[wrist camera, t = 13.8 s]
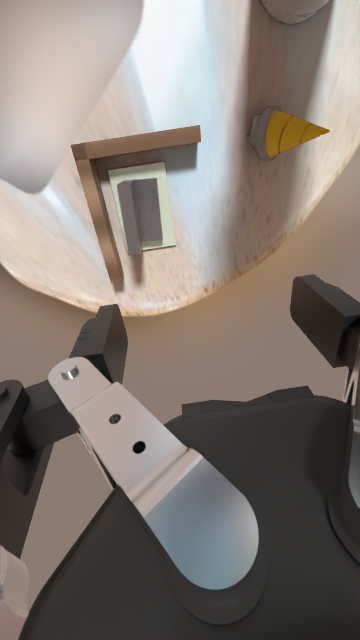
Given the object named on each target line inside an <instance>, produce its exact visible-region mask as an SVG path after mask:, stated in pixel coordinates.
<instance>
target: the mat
mask: <svg viewBox="0 0 360 640" xmlns="http://www.w3.org/2000/svg"><path fill="white" fill-rule="evenodd" d="M108 174H109V178H110V182H111V186H112V190H113V194H114V198H115V203H116V207H117V211H118V215H119V219H120V223H121V227H122V232H123V236H124V240H125V244H126V248H127V242H126V236H125V231H124V225H123V219H122V213H121V208H120V202H119V196H118V190H117V184H119V183H120V182H121V181H123V180H133V179H145V178H157V185H158V195H159V205H160V215H161V225H162V235H163V240H157V241H146V242H142V248H141V250H146V249H153V248H159V247H166V246H172V245H176V242H175V235H174V227H173V220H172V213H171V206H170V199H169V191H168V184H167V177H166V170H165V163H164V162H159V163H153V164H146V165H140V166H133V167H127V168H120V169H114V170H108ZM127 252H128V248H127Z"/></svg>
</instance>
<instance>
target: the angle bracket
mask: <svg viewBox="0 0 360 640" xmlns="http://www.w3.org/2000/svg"><path fill="white" fill-rule="evenodd" d="M117 190H118V196H119V202H120V208H121V213H122V219H123V225H124V231H125V236H126V242H127V248H128V254H129V255H137V254H141V248H142V242H146V241H157V240H163V235H162V225H161V215H160V205H159V195H158V185H157V178H145V179H133V180H123V181H121V182H120V183H119V184H117Z"/></svg>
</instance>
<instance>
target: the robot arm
mask: <svg viewBox="0 0 360 640" xmlns="http://www.w3.org/2000/svg"><path fill="white" fill-rule="evenodd" d="M261 1H262V3H263V5H264V7H265V9H266V10H267V11H268V12H269V14H270V15H271V16H272V17H274V18H275V19H277V20H278V21H280V22H283V23H286V24H296V23H299V22H302V21H305V20H306V19H308V18H310V17H311V16H313V15H314V14H315V13H316V12H317V11H319V10H320V9H321V8H323V7H324V6H325V5H326V4H327V3H328V2H329V1H330V0H261ZM290 312H291V317H292V319H293V321H294V322H295V323H296V324H297V325H298V326H299V327H300V329H301V330H302V331H303V333H304V334H305V335H306V336H307V337H308V339H309V340H310V341H311V342H312V343H313V344H314V346H315V347H316V348H317V349H318V350H319V352H320V353H321V354H322V355H323V356H324V357H325V359H326V360H327V361H328V362H329V363H330V365H331V366H332V367H333V368H336V367H343V366H347V367H348V368H349V369H348V372H347V376H346V382H345V388H344V394H343V400H342V401H339V400H336V399H333V398H329V397H324V396H315V395H313V393H312V392H311V390H310V389H309V387H308V386H302V387H295V388H288V389H282V390H276V391H274V392H271V393H268V394H266V395H264V396H261V397H258V398H256V399H253V400H251V401H248V402H239V401H221V400H209V401H203V402H196V403H190V404H183V405H182V414H183V415H180V416H178V417H176V418H174V419H172V420H170V421H169V422H167V423H166V424H164V425H162V424H161V423H160V422H159V421H158V420H157V419H156V418H155V417H154V416H153V415H152V414H151V413H150V412H149V411H148V410H147V409H146V408H145V407H144V406H143V405H142V404H141V403H140V402H139V401H138V400H137V399H136V398H135V397H134V396H133V395H131V394H130V393H129V392H128V391H127V390H126V389H125V388H124V387H123V386H122V380H123V373H124V367H125V359H126V353H127V347H128V340H127V334H126V329H125V326H124V323H123V319H122V316H121V312H120V309H119V306H118V305H117V304H113V305H106V306H100V308H99V310H98V313H97V316H96V318H92V319H89V320H88V321H87V322H86V323H85V324H84V325H83V327H82V329H81V332H80V335H79V336H78V338H77V341H76V343H75V345H74V348H73V350H72V352H71V355H70V357H69V359H67V360H64V361H62V362H61V363H59V364H58V365H56V366H55V367H54V368H53V369H52V370H51V372H50V373H49V375H48V380H46V381H44V382H41V383H38V384H35V385H33V386H30V387H27V388H24V387H23V385H22V384H21V382H20V381H17V380H7V381H3V382H0V640H360V303H359V302H358V301H357V300H355V299H353V298H352V297H351V296H350V295H348V294H346V292H344V291H343V290H341V289H340V288H339V287H336V286H333V285H331V284H328V283H325V282H324V281H322V280H321V279H320V278H318V277H317V276H316V275H314V274H312V275H305V276H299V277H296V278H294V280H293V287H292V296H291V305H290ZM74 433H78V435H79V436H80V438H81V440H82V441H83V443H84V444H85V446H86V448H87V449H88V451H89V452H90V454H91V455H92V457H93V458H94V460H95V461H96V463H97V465H98V466H99V468H100V470H101V471H102V473H103V475H104V476H105V478H106V480H107V481H108V483H109V485H110V486H111V488H112V489H113V491H112V492H111V494H110V495H109V496H108V498H107V499H106V500H105V502H104V503H103V505H102V506H101V507H100V509H99V510H98V512H97V513H96V514H95V516H94V517H93V518H92V520H91V521H90V523H89V524H88V525H87V527H86V528H85V529H84V531H83V532H82V534H81V535H80V536H79V538H78V539H77V541H76V542H75V543H74V545H73V546H72V547H71V549H70V550H69V552H68V553H67V554H66V556H65V557H64V559H63V560H62V561H61V563H60V564H59V566H58V567H57V568H56V570H55V571H54V572H53V574H52V575H51V577H50V578H49V579H48V581H47V582H46V584H45V585H44V587H43V588H42V590H41V591H40V593H39V594H38V596H37V598H36V600H35V601H34V603H33V605H32V607H31V609H30V611H29V613H28V608H27V595H28V589H29V571H28V569H27V566H26V565H25V564H24V563H23V562H22V561H21V560H20V557H21V553H22V550H23V546H24V543H25V540H26V536H27V533H28V529H29V526H30V522H31V519H32V516H33V512H34V509H35V506H36V502H37V499H38V496H39V492H40V489H41V485H42V482H43V478H44V475H45V471H46V468H47V465H48V461H49V458H50V455H51V451H52V448H53V444H54V442H56V441H58V440H60V439H63V438H65V437H67V436H70V435H72V434H74Z"/></svg>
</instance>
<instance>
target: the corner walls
mask: <svg viewBox="0 0 360 640" xmlns="http://www.w3.org/2000/svg"><path fill="white" fill-rule="evenodd" d="M199 142H201V134H200V125H197V126H191V127H184V128H178V129H172V130H165V131H159V132H152V133H146V134H139V135H133V136H126V137H120V138H113V139H107V140H100V141H94V142H87V143H81V144H74V145H71V148H72V152H73V155H74V158H75V162H76V165H77V169H78V172H79V175H80V179H81V182H82V186H83V189H84V192H85V196H86V199H87V203H88V206H89V209H90V213H91V216H92V220H93V223H94V226H95V230H96V233H97V237H98V240H99V243H100V247H101V250H102V254H103V257H104V260H105V264H106V267H107V271H108V274H109V277H110V281H111V283H115V282H122V278H123V275H124V274H123V270H122V266H121V262H120V258H119V254H118V251H117V247H116V243H115V239H114V235H113V231H112V228H111V224H110V220H109V216H108V212H107V208H106V205H105V201H104V197H103V193H102V189H101V185H100V182H99V178H98V174H97V170H96V166H95V163H94V159H96V158H102V157H109V156H115V155H122V154H128V153H135V152H141V151H148V150H154V149H161V148H167V147H174V146H180V145H187V144H193V143H199Z"/></svg>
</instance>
